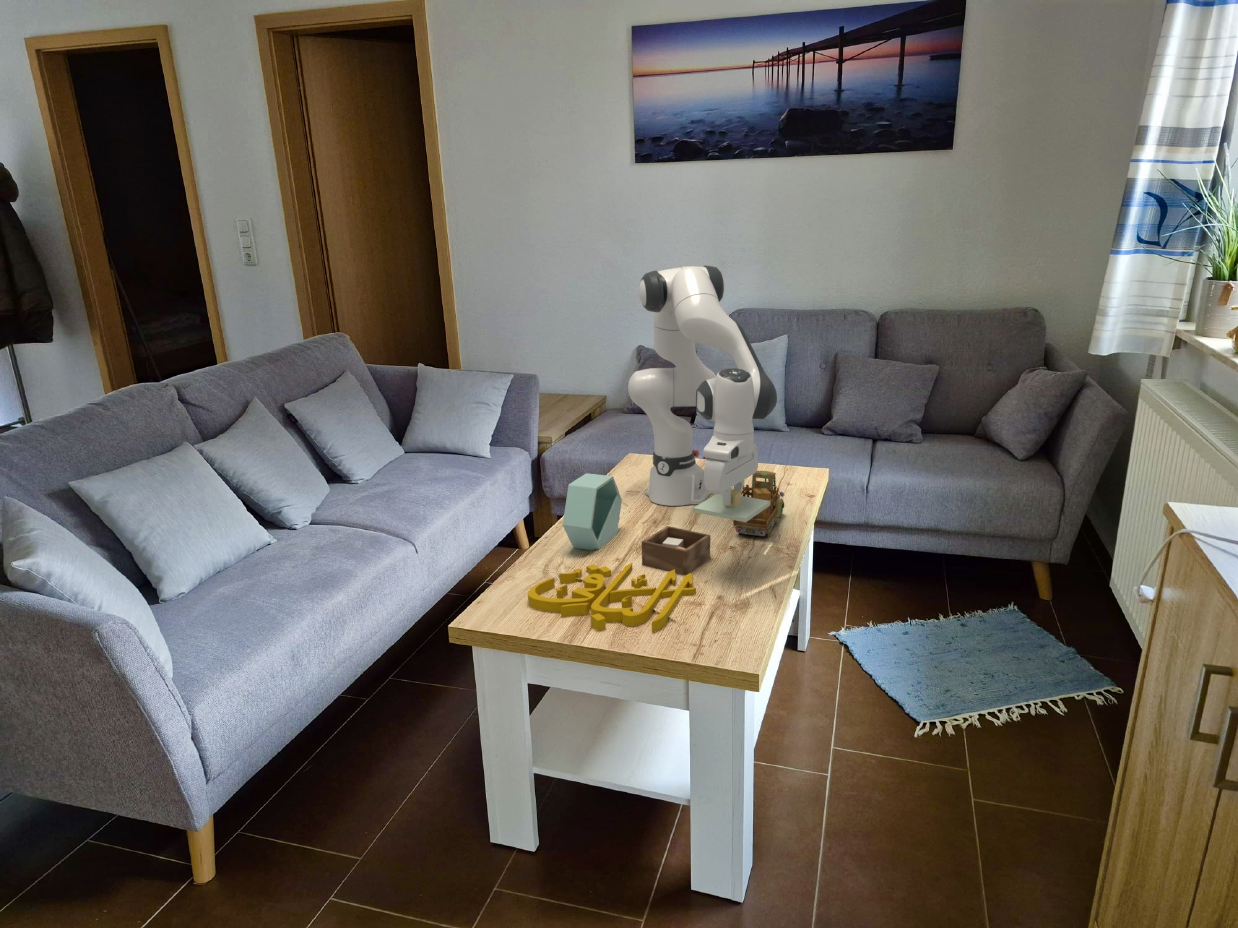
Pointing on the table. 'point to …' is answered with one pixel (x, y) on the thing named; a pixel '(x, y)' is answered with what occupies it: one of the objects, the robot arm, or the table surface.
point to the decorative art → (610, 597)
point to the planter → (592, 511)
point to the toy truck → (768, 516)
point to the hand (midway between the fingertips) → (732, 501)
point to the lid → (732, 507)
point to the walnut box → (676, 550)
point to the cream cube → (673, 542)
